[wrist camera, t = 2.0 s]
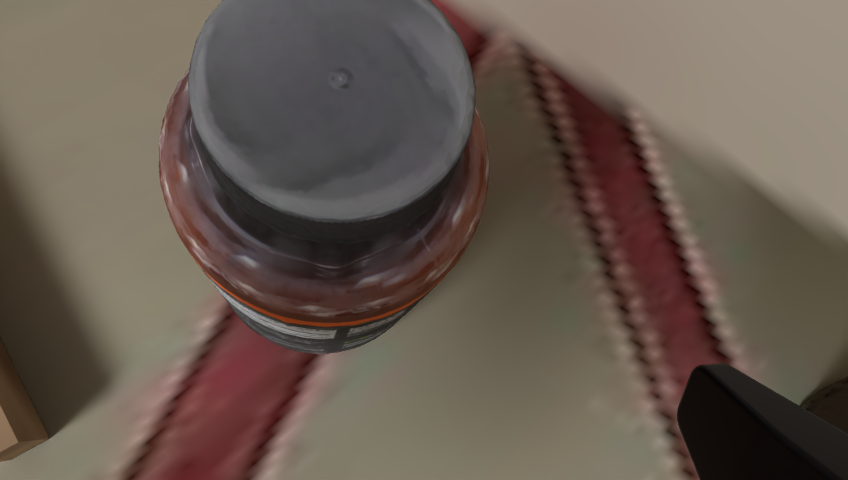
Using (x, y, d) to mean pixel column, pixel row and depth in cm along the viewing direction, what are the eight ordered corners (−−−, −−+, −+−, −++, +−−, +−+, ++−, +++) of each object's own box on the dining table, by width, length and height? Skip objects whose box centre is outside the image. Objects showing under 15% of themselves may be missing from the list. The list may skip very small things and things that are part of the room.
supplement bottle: (309, 128, 21) (318, -179, 10) (455, 246, 21) (626, 68, 10) (173, 269, 19) (1, 83, 8) (332, 400, 19) (374, 390, 8)
